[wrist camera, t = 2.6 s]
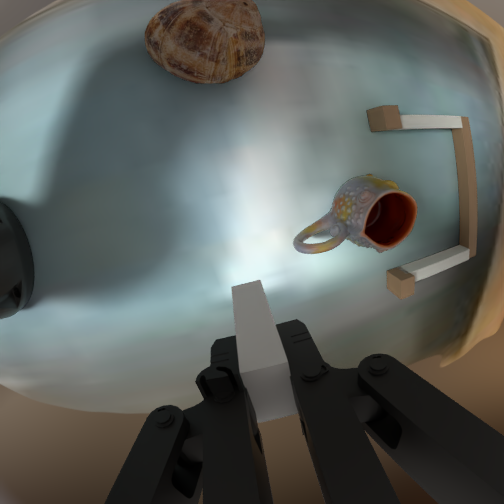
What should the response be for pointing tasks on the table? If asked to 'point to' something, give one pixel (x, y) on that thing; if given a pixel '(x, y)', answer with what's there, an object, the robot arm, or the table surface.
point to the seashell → (206, 39)
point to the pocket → (408, 274)
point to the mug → (364, 217)
